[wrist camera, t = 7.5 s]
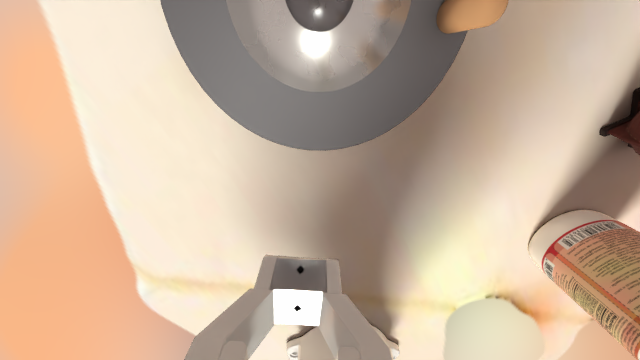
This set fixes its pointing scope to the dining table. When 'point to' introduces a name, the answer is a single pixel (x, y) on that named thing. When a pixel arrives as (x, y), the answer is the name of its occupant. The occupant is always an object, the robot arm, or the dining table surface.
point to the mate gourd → (627, 125)
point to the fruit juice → (595, 269)
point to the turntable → (333, 106)
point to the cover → (318, 38)
